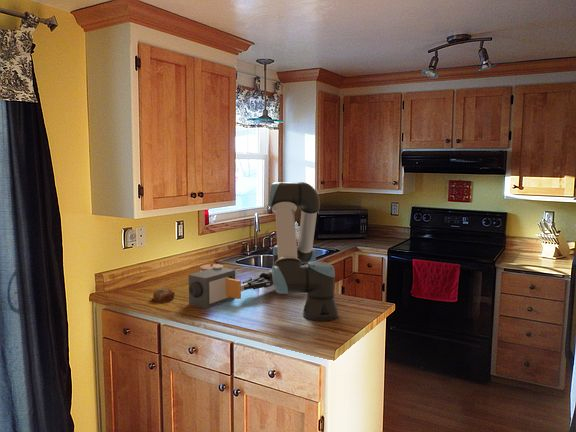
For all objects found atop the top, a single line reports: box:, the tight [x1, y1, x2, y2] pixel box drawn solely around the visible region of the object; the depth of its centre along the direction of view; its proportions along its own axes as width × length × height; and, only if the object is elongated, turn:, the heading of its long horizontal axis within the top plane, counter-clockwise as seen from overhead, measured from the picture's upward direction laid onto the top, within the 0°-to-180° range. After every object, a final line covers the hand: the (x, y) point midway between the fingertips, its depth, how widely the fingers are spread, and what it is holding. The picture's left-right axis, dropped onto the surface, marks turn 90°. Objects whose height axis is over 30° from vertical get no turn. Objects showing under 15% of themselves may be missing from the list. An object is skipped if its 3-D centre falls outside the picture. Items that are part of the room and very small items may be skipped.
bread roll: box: [152, 286, 175, 303], centre depth 235 cm, size 10×10×8 cm
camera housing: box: [187, 266, 236, 309], centre depth 231 cm, size 11×22×15 cm, turn 145°
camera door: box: [209, 277, 242, 304], centre depth 224 cm, size 9×12×10 cm
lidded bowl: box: [199, 262, 225, 272], centre depth 265 cm, size 13×13×11 cm
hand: (238, 289), depth 228 cm, fingers closed
